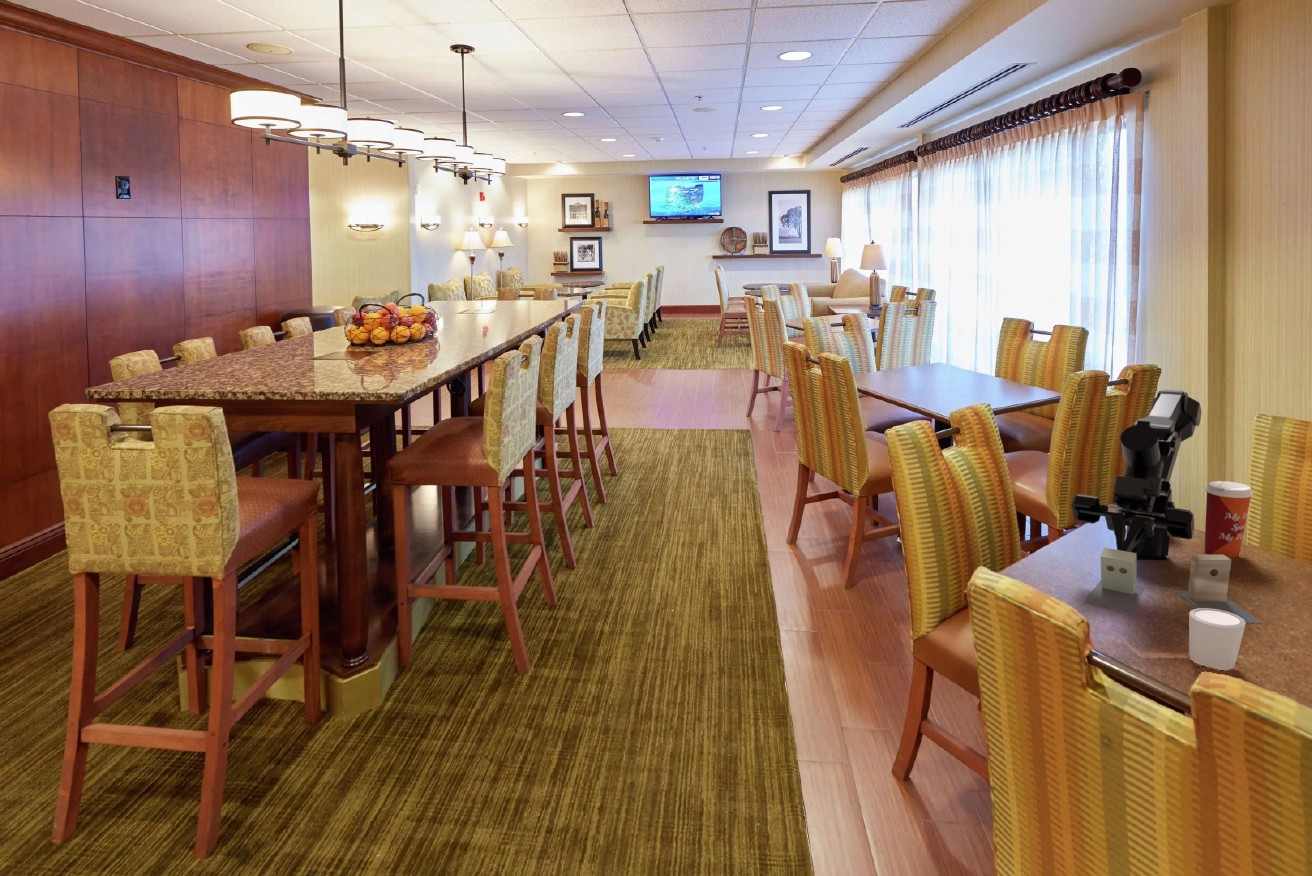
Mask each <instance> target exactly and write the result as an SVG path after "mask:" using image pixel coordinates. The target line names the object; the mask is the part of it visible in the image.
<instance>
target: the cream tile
mask: <svg viewBox="0 0 1312 876" xmlns="http://www.w3.org/2000/svg"><path fill="white" fill-rule="evenodd" d="M1190 563H1191V564H1190V571H1189V572H1190V573H1189V580H1188V589H1187V591H1188V597H1190V598H1191V599H1192V600H1194V601H1195V602H1226V600H1227V598H1228V589H1229V583H1230V582H1229V581H1230V574H1231V565H1232V558H1228V557H1226V556H1225V555H1207V554H1192V555H1191V561H1190Z"/></svg>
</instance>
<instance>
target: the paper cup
mask: <svg viewBox="0 0 1312 876" xmlns="http://www.w3.org/2000/svg"><path fill="white" fill-rule="evenodd" d="M1204 491H1205V492H1206V502H1205V503H1206V506H1205V508H1206V509H1205V527H1204V529H1205V530H1204V554H1205V553H1206V554H1205V555H1207V554H1208V555H1225V556H1226V557H1228V558H1229V559H1239V556H1240V552H1241V548H1242V542H1243V538H1244V532H1245V528H1246V523H1247V518H1248V514H1249V513H1248V512H1249V508H1250V507H1249V506H1250V502H1251V498H1252V497H1253V496H1254V494H1253V492H1252V487H1250V486H1249V485H1248V484H1244V483H1240V482H1235V481H1224V480H1218V481H1217V480H1216V481H1210V482H1209V483H1208V484H1207V487H1206V488H1205V489H1204Z"/></svg>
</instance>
